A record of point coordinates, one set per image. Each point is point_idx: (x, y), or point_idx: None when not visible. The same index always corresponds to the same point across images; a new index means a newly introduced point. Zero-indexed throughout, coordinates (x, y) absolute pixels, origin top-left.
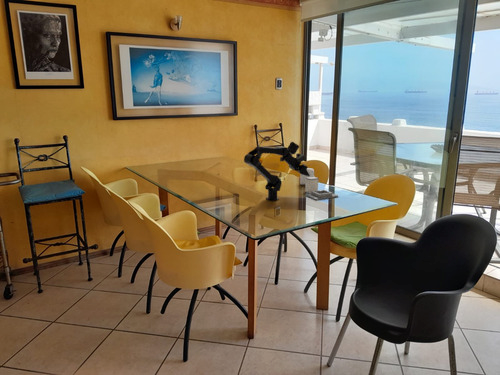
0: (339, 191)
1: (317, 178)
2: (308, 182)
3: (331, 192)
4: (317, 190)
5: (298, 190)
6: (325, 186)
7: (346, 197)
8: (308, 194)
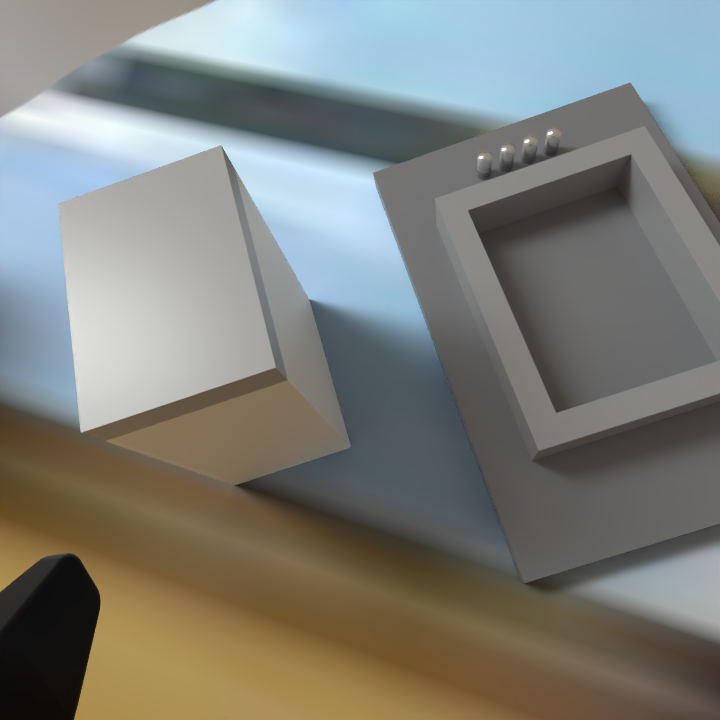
0: (335, 34)
1: (230, 171)
2: (252, 416)
3: (630, 133)
4: (303, 292)
5: (142, 587)
6: (63, 134)
7: (644, 14)
8: (537, 520)
